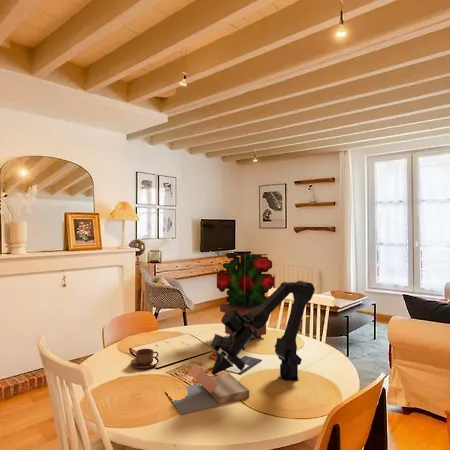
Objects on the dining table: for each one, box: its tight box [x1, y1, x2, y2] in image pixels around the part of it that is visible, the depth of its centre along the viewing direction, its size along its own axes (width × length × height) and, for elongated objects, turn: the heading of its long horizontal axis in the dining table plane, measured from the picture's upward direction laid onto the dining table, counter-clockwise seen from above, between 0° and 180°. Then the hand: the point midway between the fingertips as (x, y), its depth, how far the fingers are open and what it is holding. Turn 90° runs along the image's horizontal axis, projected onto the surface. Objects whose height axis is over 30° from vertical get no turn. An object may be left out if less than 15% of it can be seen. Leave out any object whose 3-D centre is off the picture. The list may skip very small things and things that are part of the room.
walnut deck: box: [200, 373, 250, 405], centre depth 139 cm, size 12×16×2 cm
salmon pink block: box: [188, 363, 218, 393], centre depth 135 cm, size 4×6×9 cm
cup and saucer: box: [130, 348, 159, 369], centre depth 164 cm, size 12×12×6 cm
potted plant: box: [216, 253, 276, 342], centre depth 202 cm, size 22×22×45 cm
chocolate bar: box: [224, 355, 263, 375], centre depth 164 cm, size 9×1×18 cm
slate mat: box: [171, 383, 220, 415], centre depth 133 cm, size 14×18×1 cm
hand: (212, 373), depth 137 cm, fingers closed
